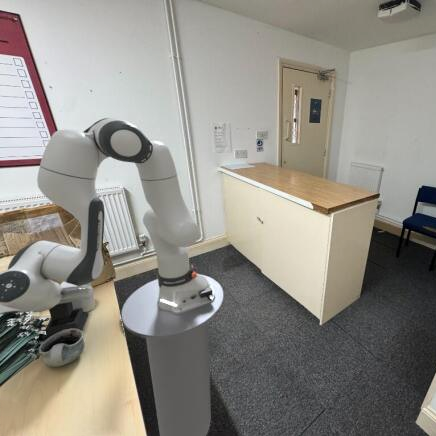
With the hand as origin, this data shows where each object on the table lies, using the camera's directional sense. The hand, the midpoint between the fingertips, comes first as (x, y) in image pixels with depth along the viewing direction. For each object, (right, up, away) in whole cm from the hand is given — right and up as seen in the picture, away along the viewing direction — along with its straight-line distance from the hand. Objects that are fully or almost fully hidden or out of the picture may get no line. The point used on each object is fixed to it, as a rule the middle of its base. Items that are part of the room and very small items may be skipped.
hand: (60, 301), depth 79 cm
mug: (+10, -16, -8) cm, 20 cm away
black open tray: (-1, -10, +3) cm, 11 cm away
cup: (-3, -7, +12) cm, 14 cm away
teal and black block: (0, -5, +1) cm, 5 cm away
